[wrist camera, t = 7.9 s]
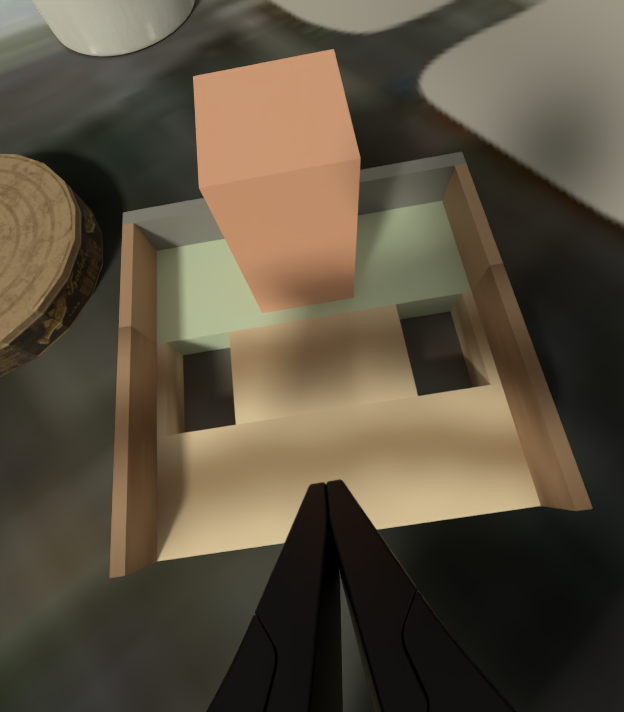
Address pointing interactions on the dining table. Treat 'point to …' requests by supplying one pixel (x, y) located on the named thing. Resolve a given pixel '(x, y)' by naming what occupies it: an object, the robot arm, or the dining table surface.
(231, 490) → the board
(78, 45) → the utensil holder
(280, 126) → the terracotta block
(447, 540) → the dining table surface
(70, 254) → the wood slice
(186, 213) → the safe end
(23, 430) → the dining table surface
